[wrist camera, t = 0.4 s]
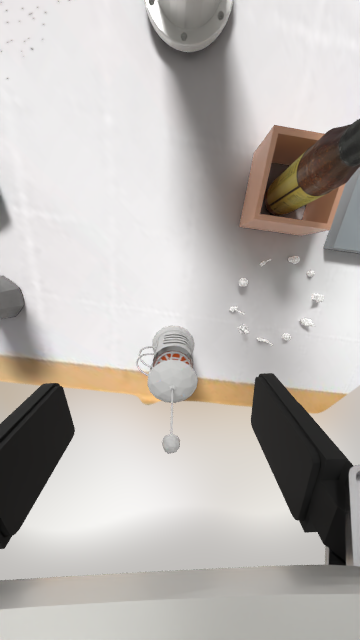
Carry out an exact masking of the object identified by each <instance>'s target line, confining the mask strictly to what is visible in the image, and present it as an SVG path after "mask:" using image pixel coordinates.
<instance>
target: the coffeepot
mask: <svg viewBox="0 0 360 640" xmlns="http://www.w3.org/2000/svg"><path fill="white" fill-rule="evenodd" d="M23 306H24V299H23V295H22V292H21V291H20V288H19V287H18V286H17V285H16V284H15V283H13V282H12V281H11V280H9V279H7V278H6V277H4V276H0V319H3V318H10V317H16V315H17V314H18V313H19V312H20V311H21V309H22V308H23Z"/></svg>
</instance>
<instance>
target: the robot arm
mask: <svg viewBox="0 0 360 640" xmlns="http://www.w3.org/2000/svg"><path fill="white" fill-rule="evenodd" d="M144 2H145V6H146V10H147V13H148V16H149V19H150V21H151V23H152V25H153V27H154V29H155V31H156V32H157V33H158V35H159V36H160V37H161V39H162V40H163V41H165V42H166V43H167V44H168V45H169V46H171V47H173V48H174V49H176V50H179V51H183V52H195V51H199V50H202V49H204V48H205V47H207V46H209V45H210V44H211V43H212V42H213V41H214V40H216V38H217V37H218V36H219V34H220V33H221V32H222V30H223V28H224V26H225V25H226V23H227V21H228V18H229V15H230V12H231V9H232V4H233V0H144ZM251 425H252V428H253V430H254V432H255V435H256V437H257V439H258V441H259V443H260V445H261V448H262V450H263V452H264V454H265V457H266V459H267V461H268V463H269V465H270V468H271V470H272V472H273V474H274V476H275V479H276V481H277V483H278V485H279V487H280V489H281V492H282V494H283V496H284V498H285V501H286V503H287V505H288V507H289V509H290V512H291V514H292V515H293V517H294V518H295V520H299V521H300V523H301V525H302V528H303V530H304V532H318V534H319V536H320V538H321V540H322V542H323V544H324V545H326V548H325V565H293V566H258V567H238V568H218V569H217V568H216V569H199V570H198V569H196V570H176V571H158V572H138V573H122V574H121V573H120V574H103V575H84V576H66V577H50V578H34V579H17V580H1V581H0V640H360V465H355V466H353V465H352V463H350V461H349V460H348V459H347V458H346V457H345V455H344V454H343V453H342V452H341V451H340V450H339V448H338V447H337V446H336V445H335V444H334V443H333V441H332V440H331V439H330V438H329V437H328V436H327V435H326V433H325V432H324V431H323V430H322V429H321V428H320V426H319V425H318V424H317V423H316V422H315V421H314V419H313V418H312V417H311V416H310V415H309V414H308V412H307V411H306V410H305V409H304V408H303V407H302V406H301V405H300V404H299V403H298V402H297V401H296V400H295V398H294V397H293V396H292V395H291V394H290V393H289V391H288V390H287V389H286V388H285V387H284V386H283V384H282V383H281V382H280V381H279V380H278V379H277V377H276V376H275V375H274V374H272V373H268V374H260V375H259V377H256V379H255V387H254V396H253V406H252V415H251ZM74 432H75V430H74V425H73V421H72V418H71V414H70V411H69V407H68V404H67V400H66V397H65V394H64V390H63V387H62V386H60V385H59V384H58V383H49V384H43V385H41V386H40V387H39V388H38V389H37V390H36V391H35V392H34V393H33V394H32V395H31V396H30V397H29V398H27V399H26V400H25V401H24V402H23V403H22V404H21V405H20V406H19V407H18V408H17V409H16V410H15V411H14V412H13V413H12V414H11V415H9V416H8V417H7V418H6V419H5V420H4V421H3V422H2V423H1V424H0V549H4V548H5V547H6V545H7V543H8V542H9V540H10V538H11V537H12V535H14V534H16V532H17V531H18V530H19V529H20V527H21V526H22V524H23V522H24V520H25V519H26V517H27V515H28V514H29V512H30V510H31V508H32V507H33V505H34V503H35V501H36V500H37V498H38V496H39V495H40V493H41V491H42V489H43V488H44V486H45V484H46V483H47V481H48V479H49V477H50V476H51V474H52V472H53V470H54V469H55V467H56V465H57V464H58V462H59V460H60V458H61V457H62V455H63V453H64V451H65V450H66V448H67V446H68V445H69V443H70V441H71V439H72V438H73V435H74Z"/></svg>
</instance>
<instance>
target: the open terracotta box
mask: <svg viewBox="0 0 360 640" xmlns="http://www.w3.org/2000/svg"><path fill="white" fill-rule="evenodd" d="M323 135H325V134H322V133H316V132H311V131H305V130H299V129H294V128H288V127H282V126H277V125H274V126H273V128H272V129H271V130H270V132H269V133H268V134H267V136H266V137H265V139H264V140H263V141H262V143H261V144H260V146H259V147H258V148H257V150H256V151H255V152H254V154H253V159H252V164H251V170H250V175H249V180H248V185H247V190H246V195H245V200H244V205H243V210H242V215H241V220H240V225H239V227H243V228H250V229H257V230H264V231H271V232H278V233H286V234H293V235H300V236H303V235H308V234H312V233H317V232H322V231H327V230H330V228H331V225H332V222H333V219H334V216H335V213H336V210H337V207H338V204H339V201H340V198H341V195H342V192H343V189H344V186H345V184H343V185H341V186H340V187H338V188H336V189H333V190H332V191H331V192H329V193H328V194H326V195H324V196H322V197H320V198H318V199H316V200H314V201H312V202H310V203H308V204H306V208H305V211H304V215H303V218H302V220H298V219H292V218H285V217H278V216H271V215H265V214H260V212H261V208H262V203H263V199H264V194H265V190H266V185H267V181H268V177H269V172H270V168H271V163H272V162H273V163H279V164H285V165H291V164H292V163H293V162H294V161H296V160H297V159H298V158H299V157H300V156H301V155H302V154H303V153H304V152H305V151H306V150H307V149H308V148H310V147H311V146H312V145H314V144H315V143H316V142H317V141H318V140H319V139H320V138H321V137H322V136H323Z"/></svg>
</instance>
